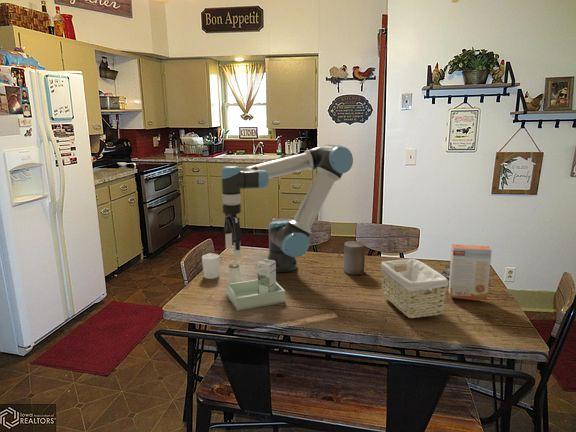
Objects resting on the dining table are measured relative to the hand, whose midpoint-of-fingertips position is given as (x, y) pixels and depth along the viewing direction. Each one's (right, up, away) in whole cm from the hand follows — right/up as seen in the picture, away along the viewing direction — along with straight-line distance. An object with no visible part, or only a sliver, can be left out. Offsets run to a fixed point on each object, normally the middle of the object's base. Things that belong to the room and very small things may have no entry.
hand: (233, 252), depth 176 cm
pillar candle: (+55, -11, +20) cm, 60 cm away
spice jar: (0, -15, +3) cm, 15 cm away
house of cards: (+97, -14, +8) cm, 98 cm away
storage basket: (+71, -19, -16) cm, 75 cm away
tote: (+10, -18, -10) cm, 23 cm away
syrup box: (+15, -17, -8) cm, 24 cm away
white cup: (-12, -13, +14) cm, 23 cm away
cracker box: (+96, -17, -9) cm, 98 cm away
